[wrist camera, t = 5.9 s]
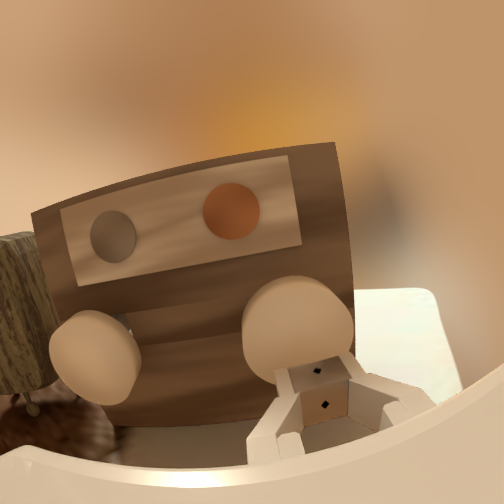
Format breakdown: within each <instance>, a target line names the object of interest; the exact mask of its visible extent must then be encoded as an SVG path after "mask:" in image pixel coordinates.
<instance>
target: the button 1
mask: <svg viewBox="0 0 504 504" xmlns="http://www.w3.org/2000/svg"><path fill="white" fill-rule="evenodd" d="M129 330H130V326H129V324H128V321H127V318H126V315H125V313H124V314H117V315H116V316H115V317H114V318H113V317H111V316H109V315H107V314H105V313H102V312H99V311H95V310H84V311H80V312H78V313H76V314H74V315H73V316H72V317H71V318H70V319H68V320H67V321H66V322H65V323H64V324H63V325H61V326H60V327H59V328H58V329H57V330H56V331H55V332H54V333H53V335H52V336H51V339H50V342H49V354H50V359H51V362H52V364H53V367H54V369H55V371H56V372H57V374H58V375H59V377H60V378H61V380H62V381H63V382H64V383H65V384H66V385H67V386H68V387H69V388H70V389H71V390H72V391H73V392H75V393H76V394H77V395H79V396H80V397H82V398H84V399H86V400H88V401H90V402H93V403H96V404H100V405H116V404H119V403H121V402H123V401H124V400H125V399H126V398H127V397H128V396H129V394H130V391H131V389H132V387H133V385H134V383H135V381H136V379H137V376H138V374H139V372H140V369H141V364H142V361H141V353H140V350H139V347H138V345H137V343H136V341H135V339H134V338H133V336H132V335H131V333H130V332H129Z"/></svg>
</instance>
